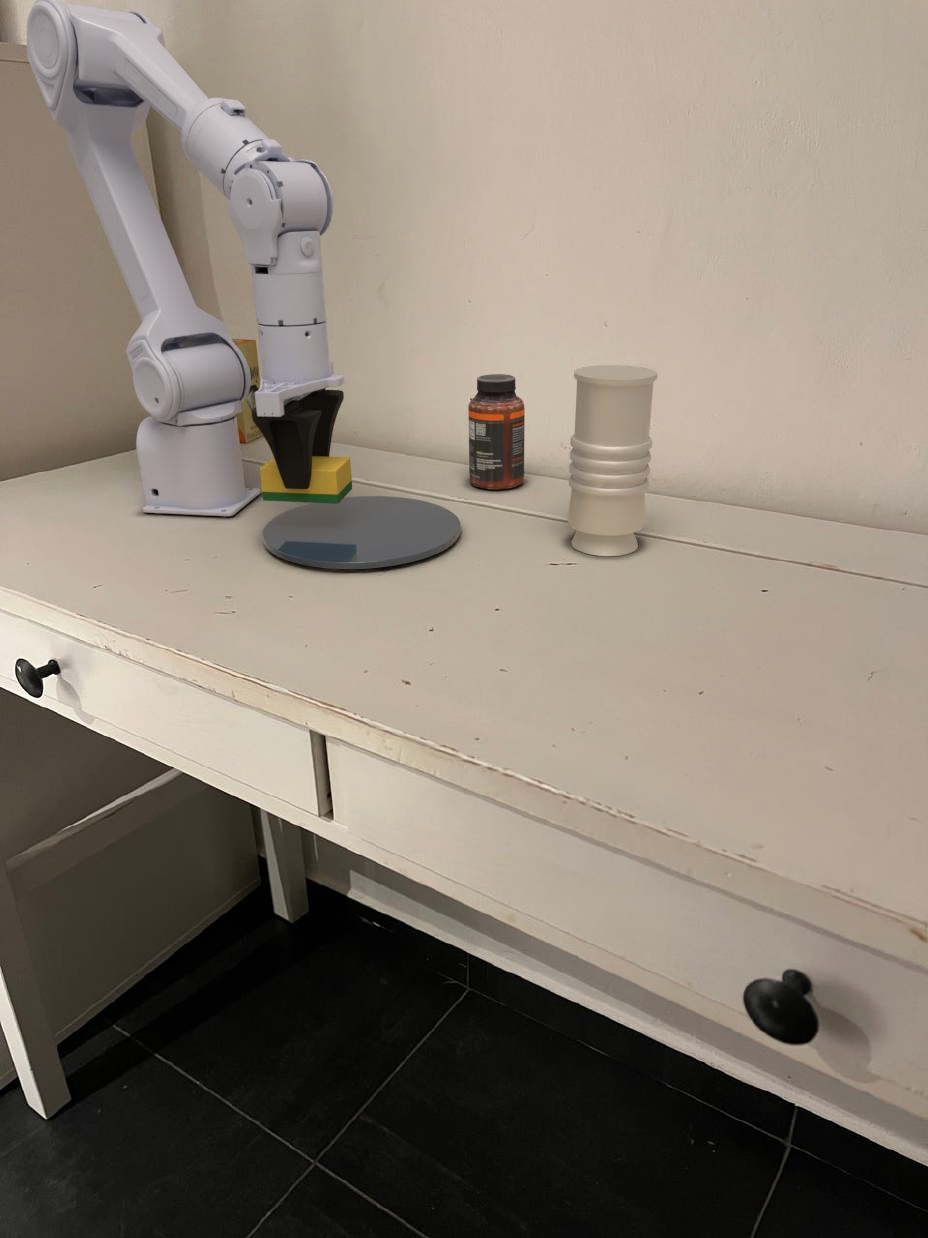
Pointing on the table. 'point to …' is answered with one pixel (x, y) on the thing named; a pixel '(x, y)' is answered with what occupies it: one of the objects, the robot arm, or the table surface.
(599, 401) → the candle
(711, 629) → the table surface
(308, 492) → the sponge
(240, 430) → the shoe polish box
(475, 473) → the supplement bottle
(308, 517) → the plate
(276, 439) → the robot arm
